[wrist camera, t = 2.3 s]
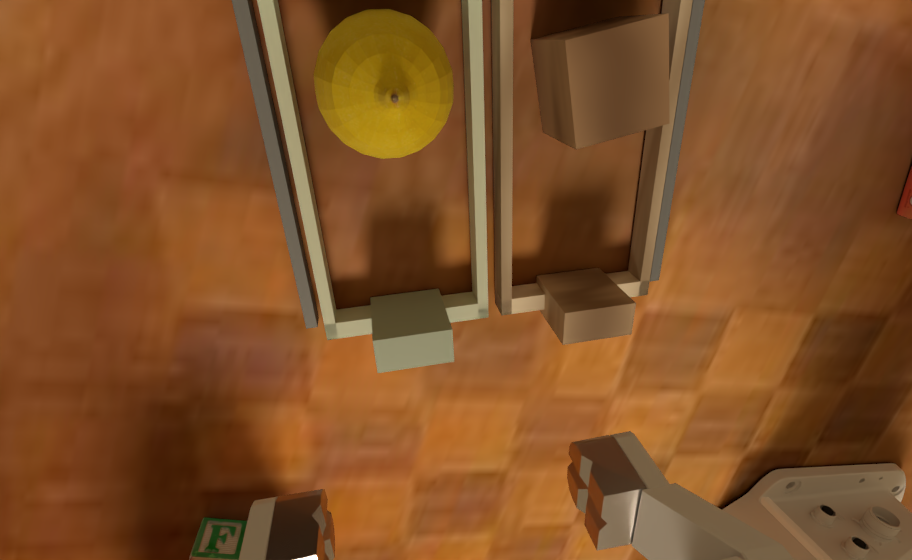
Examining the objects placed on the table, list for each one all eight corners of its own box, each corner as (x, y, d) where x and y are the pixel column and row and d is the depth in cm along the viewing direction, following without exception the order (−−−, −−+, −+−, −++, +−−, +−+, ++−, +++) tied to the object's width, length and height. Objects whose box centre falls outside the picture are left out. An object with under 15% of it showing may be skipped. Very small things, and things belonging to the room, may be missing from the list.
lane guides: (705, -86, 22) (719, -91, 21) (650, 273, 31) (658, 280, 30) (219, -75, 19) (213, -80, 18) (308, 319, 28) (306, 328, 27)
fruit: (311, 14, 21) (290, 4, 14) (435, 11, 22) (473, 0, 15) (330, 142, 24) (319, 187, 17) (440, 135, 25) (474, 175, 18)
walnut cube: (616, 17, 24) (668, 13, 20) (621, 110, 26) (669, 123, 22) (530, 39, 23) (565, 40, 20) (542, 131, 26) (576, 149, 22)
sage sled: (473, -37, 21) (500, -54, 17) (482, 311, 30) (502, 354, 26) (257, -30, 20) (233, -45, 16) (330, 332, 28) (326, 381, 24)
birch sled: (680, -44, 23) (748, -61, 19) (633, 290, 31) (674, 327, 27) (490, -38, 21) (521, -54, 17) (495, 309, 30) (516, 351, 26)
